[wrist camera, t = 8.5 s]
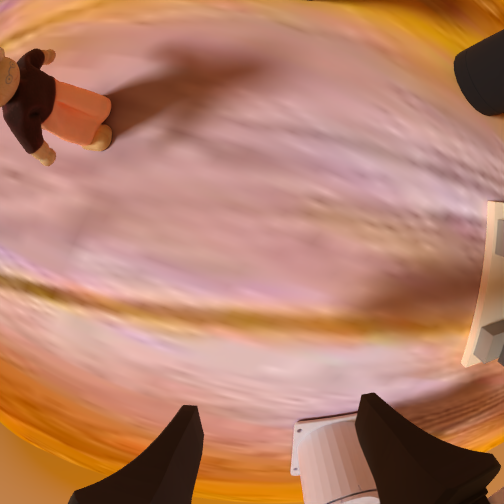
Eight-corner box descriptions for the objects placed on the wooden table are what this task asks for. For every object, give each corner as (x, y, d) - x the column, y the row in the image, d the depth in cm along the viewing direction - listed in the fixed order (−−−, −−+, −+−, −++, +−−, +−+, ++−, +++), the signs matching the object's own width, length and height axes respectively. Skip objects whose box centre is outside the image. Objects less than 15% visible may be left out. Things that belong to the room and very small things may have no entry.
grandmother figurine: (129, 150, 17) (-14, 116, 5) (87, 174, 18) (-57, 175, 5) (106, 66, 16) (-1, -7, 3) (67, 91, 16) (-48, 47, 4)
